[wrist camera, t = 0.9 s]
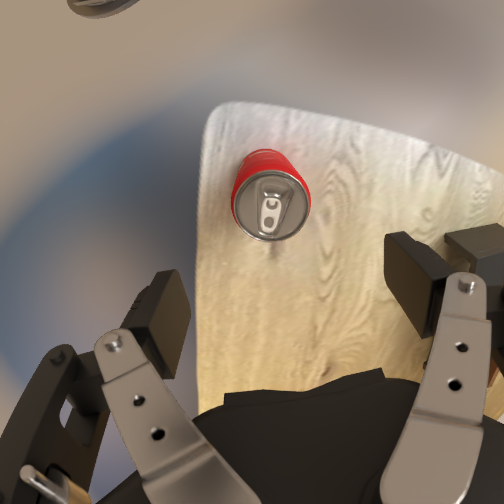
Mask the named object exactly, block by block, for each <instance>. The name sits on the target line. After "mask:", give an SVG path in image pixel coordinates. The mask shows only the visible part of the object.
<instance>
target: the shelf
mask: <svg viewBox="0 0 504 504" xmlns="http://www.w3.org/2000/svg"><path fill="white" fill-rule="evenodd" d="M445 243H446V244H448V245H449V246H450V247H451V248H453V249H454V250H455V251H456V252H457V253H459V254H460V255H461V256H462V257H463V258H465V259H466V260H467V261H468V262H469V263H470V268H469V273H473V274H475V275H477V276H479V277H481V278H482V279H483V280H484V282H485V283H486V286H500V285H503V281H504V227H502V226H501V225H499V224H497V223H496V224H491V225H486V226H481V227H476V228H471V229H465V230H460V231H455V232H450V233H445ZM426 366H427V362H424V364H423V369H424V371H425V369H426ZM498 372H499V368H498V367H497V365H496V363H495V362H494V360H493V359H492V357H491V355H490V366H489V376H488V385H487V388H489V387H491V386H492V384H493V382H494V380H495V378H496V376H497V374H498Z"/></svg>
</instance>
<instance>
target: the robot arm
mask: <svg viewBox="0 0 504 504" xmlns="http://www.w3.org/2000/svg"><path fill="white" fill-rule="evenodd" d="M76 1H77V3H73V4H75V5H77V6H80V5H85V6H90V7H96V6H102V5H106V4H109V3H111V2H114V1H116V0H76ZM384 277H385V281H386V284H387V286H388V288H389V289H390V291H391V292H392V294H393V295H394V297H395V298H396V300H397V301H398V303H399V304H400V306H401V307H402V309H403V310H404V312H405V313H406V315H407V316H408V318H409V319H410V321H411V323H412V324H413V326H414V327H415V329H416V331H417V332H418V334H419V335H420V337H421V339H424V338H428V337H431V336H434V341H433V345H432V348H431V352H430V356H429V359H428V362H427V366H426V369H425V372H424V375H423V378H422V381H421V384H420V383H417V382H414V381H410V380H406V379H399V378H385V376H384V373H383V371H382V368H377V369H373V370H369V371H365V372H360V373H356V374H351V375H347V376H343V377H341V378H339V379H336V380H334V381H331V382H329V383H326V384H324V385H322V386H319V387H317V388H314V389H311V390H309V391H304V392H296V391H278V390H264V389H262V390H254V391H244V392H234V393H224V404H223V405H221V406H218V407H215V408H213V409H210V410H208V411H206V412H204V413H202V414H200V415H199V416H197V417H195V418H194V419H193V420H191V419H190V418H189V417H188V415H187V414H186V413H185V411H184V410H183V408H182V407H181V406H180V404H179V403H178V402H177V400H176V399H175V397H174V396H173V395H172V393H171V392H170V391H169V389H168V387H167V386H166V384H165V383H164V382H163V380H162V379H174V378H175V374H176V370H177V366H178V362H179V359H180V355H181V351H182V347H183V343H184V340H185V336H186V333H187V329H188V325H189V322H190V318H191V309H190V304H189V301H188V298H187V295H186V292H185V289H184V286H183V283H182V280H181V277H180V274H179V272H178V271H177V270H176V269H173V270H167V271H161V272H157V273H156V275H155V277H154V279H153V281H152V282H151V284H150V286H147V287H146V288H145V289H143V290H142V291H141V292H140V293H139V294H138V296H137V298H136V299H135V301H134V303H133V304H132V306H131V308H130V309H131V310H129V312H128V314H127V315H126V317H125V319H124V321H123V323H122V324H121V326H120V328H119V329H115V330H111V331H109V332H107V333H105V334H104V335H103V336H101V337H100V338H99V339H98V340H97V342H96V343H95V346H94V351H90V352H87V353H83V354H80V355H77V353H76V352H75V350H74V349H73V347H72V346H71V345H69V344H62V345H59V346H56V347H55V348H53V349H51V350H50V351H49V352H48V353H47V354H46V355H45V356H44V358H43V359H42V361H41V363H40V364H39V366H38V368H37V369H36V371H35V373H34V374H33V376H32V378H31V380H30V381H29V383H28V385H27V387H26V389H25V390H24V392H23V394H22V396H21V398H20V400H19V401H18V403H17V405H16V407H15V409H14V411H13V413H12V415H11V417H10V419H9V421H8V423H7V425H6V427H5V429H4V431H3V433H2V435H1V438H0V504H91V499H90V496H89V494H88V491H89V487H90V483H91V478H92V475H93V471H94V467H95V463H96V459H97V456H98V452H99V449H100V445H101V441H102V438H103V435H104V431H105V428H106V425H107V421H108V418H109V415H110V412H111V413H112V416H113V418H114V421H115V423H116V426H117V428H118V430H119V432H120V435H121V437H122V439H123V441H124V444H125V446H126V448H127V450H128V452H129V454H130V456H131V458H132V460H133V462H134V464H135V466H136V468H137V470H136V471H135V472H134V473H132V474H131V475H130V476H129V477H128V478H127V479H125V480H124V481H123V482H122V483H121V484H119V485H118V486H117V487H116V488H115V489H113V490H112V491H111V492H110V493H108V494H107V495H106V496H105V497H104V498H102V499H101V500H100V501H98V502H97V503H96V504H504V424H502V423H500V422H498V421H496V420H494V419H492V418H490V417H487V416H485V415H483V412H484V406H485V399H486V393H487V385H488V376H489V366H490V355H491V357H492V359H493V360H494V362H495V363H496V365H497V367H498V368H499V370H500V372H501V373H502V375H503V377H504V281H503V285H500V286H486V283H485V282H484V280H483V279H482V278H481V277H479V276H477V275H475V274H473V273H469V272H456V271H455V270H454V269H453V268H452V267H451V266H450V265H449V264H448V263H447V262H446V261H444V260H443V259H441V257H440V256H439V255H438V254H437V253H435V251H434V250H432V249H431V248H430V247H429V246H428V245H426V244H423V243H421V242H419V241H415V240H414V239H413V238H411V237H410V236H409V235H408V234H407V233H406V232H405V231H401V232H395V233H389V234H386V235H385V238H384ZM65 399H67V400H68V402H69V403H70V404H71V405H72V407H73V408H72V411H71V413H70V416H69V418H68V421H67V423H66V426H65V428H64V427H63V426H62V424H61V422H60V417H59V415H60V410H61V408H62V406H63V404H64V401H65Z"/></svg>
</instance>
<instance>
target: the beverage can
mask: <svg viewBox="0 0 504 504" xmlns="http://www.w3.org/2000/svg"><path fill="white" fill-rule="evenodd" d="M310 207H311V197H310V192H309V189H308V187H307V185H306V183H305V181H304V180H303V179H302V177H301V176H300V175H299V173H298V172H297V171H296V170H295V168H294V167H293V166H292V165H291V163H290V162H289V161H288V160H287V158H286V157H285V156H284V155H282V154H281V153H279V152H277V151H275V150H271V149H260V150H256V151H254V152H252V153H250V154H249V155H248V156H247V157H246V158H245V159H244V160H243V161H242V163H241V165H240V168H239V171H238V174H237V178H236V181H235V184H234V188H233V191H232V195H231V210H232V214H233V217H234V219H235V221H236V223H237V224H238V225H239V227H240V228H241V229H242V230H243V231H244V232H245V233H246V234H248V235H249V236H250V237H252V238H254V239H256V240H259V241H263V242H280V241H283V240H286V239H288V238H290V237H292V236H294V235H295V234H297V233H298V232H299V231H300V229H301V228H302V227H303V225H304V224H305V222H306V220H307V218H308V215H309V212H310Z"/></svg>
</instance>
